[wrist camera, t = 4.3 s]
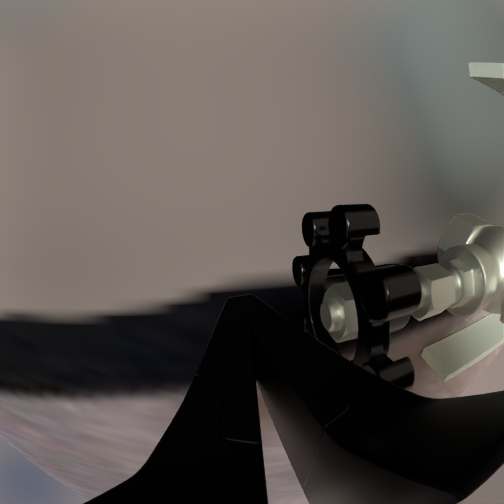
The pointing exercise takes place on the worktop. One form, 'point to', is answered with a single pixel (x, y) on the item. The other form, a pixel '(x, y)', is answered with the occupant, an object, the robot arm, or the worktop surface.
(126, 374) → the worktop surface
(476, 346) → the u-shaped bracket
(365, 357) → the valve
